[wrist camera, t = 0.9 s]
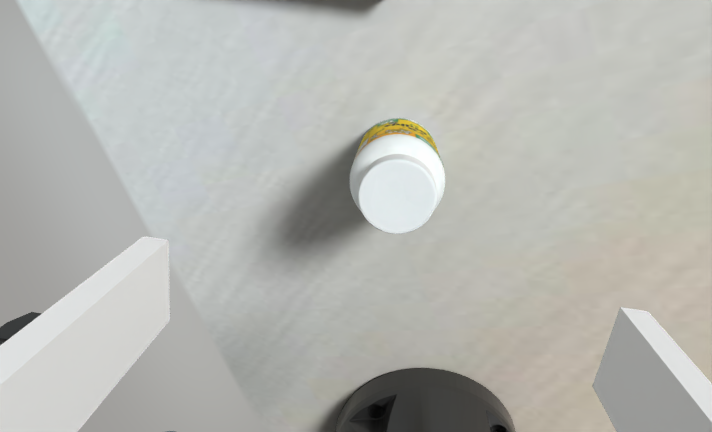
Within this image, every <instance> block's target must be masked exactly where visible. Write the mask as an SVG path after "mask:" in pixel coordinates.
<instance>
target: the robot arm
mask: <svg viewBox="0 0 712 432" xmlns="http://www.w3.org/2000/svg"><path fill="white" fill-rule="evenodd" d="M169 321H170V295H169V240H166V239H159V238H152V237H145V236H143V237H142V238H140V239H139V240H138V241H136V242H135V243H134V244H133V245H131V246H130V247H129V248H127V249H126V250H125V251H123V252H122V253H121V254H119V255H118V256H117V257H116V258H114V259H113V260H112V261H110V262H109V263H108V264H106V265H105V266H104V267H102V268H101V269H100V270H99V271H97V272H96V273H95V274H93V275H92V276H91V277H89V278H88V279H87V280H86V281H84V282H83V283H82V284H80V285H79V286H78V287H76V288H75V289H74V290H72V291H71V292H70V293H68V294H67V295H66V296H64V297H63V298H62V299H61V300H59V301H58V302H57V303H55V304H54V305H53V306H51V307H50V308H49V309H48V310H46V311H45V312H44V313H42V314H41V313H34V312H31V313H28V314H26V315H24V316H22V317H19V318H17V319H14V320H12V321H10V322H7V323H6V324H4V325H3V326H2V327H1V328H0V432H78V430H79V429H80V428H81V427H82V426H83V424H84V423H85V422H86V421H87V420H88V418H89V417H90V416H91V415H92V414H93V412H94V411H95V410H96V409H97V407H98V406H99V405H100V404H101V403H102V401H103V400H104V399H105V398H106V397H107V395H108V394H109V393H110V392H111V391H112V389H113V388H114V387H115V386H116V385H117V383H118V382H119V381H120V380H121V378H122V377H123V376H124V375H125V374H126V372H127V371H128V370H129V369H130V368H131V366H132V365H133V364H134V363H135V362H136V360H137V359H138V358H139V357H140V355H141V354H142V353H143V352H144V351H145V350H146V348H147V347H148V346H149V345H150V343H151V342H152V341H153V340H154V339H155V337H156V336H157V335H158V334H159V333H160V331H161V330H162V329H163V328H164V326H165V325H166V324H167V323H168V322H169ZM593 388H594V390H595V392H596V394H597V396H598V397H599V399H600V401H601V403H602V405H603V407H604V409H605V411H606V412H607V414H608V416H609V418H610V420H611V422H612V424H613V425H614V427H615V429H616V431H617V432H712V383H711V382H710V381H709V380H708V379H707V378H706V377H705V375H704V374H703V373H702V372H701V371H700V370H699V369H698V367H697V366H696V365H695V364H694V363H693V362H692V361H691V360H690V358H689V357H688V356H687V355H686V354H685V353H684V352H683V351H682V349H681V348H680V347H679V346H678V345H677V344H676V343H675V341H674V340H673V339H672V338H671V337H670V336H669V335H668V334H667V332H666V331H665V330H664V329H663V328H662V327H661V326H660V324H659V323H658V322H657V321H656V320H655V319H654V318H653V317H652V315H651V314H650V313H649V312H648V311H642V310H636V309H629V308H622V307H620V310H619V312H618V315H617V318H616V321H615V324H614V327H613V329H612V332H611V335H610V338H609V341H608V344H607V346H606V349H605V352H604V355H603V358H602V361H601V363H600V366H599V369H598V372H597V375H596V378H595V381H594V383H593ZM167 432H174V431H167ZM335 432H516V431H515V428H514V425H513V422H512V419H511V417H510V415H509V413H508V411H507V410H506V408H505V407H504V405H503V404H502V403H501V402H500V400H499V399H498V398H497V397H496V396H495V395H494V394H493V393H492V392H490V391H489V390H488V389H486V388H485V387H484V386H482V385H481V384H479V383H477V382H475V381H474V380H472V379H470V378H467V377H465V376H462V375H460V374H457V373H453V372H449V371H445V370H439V369H430V368H414V369H405V370H400V371H395V372H391V373H388V374H385V375H383V376H380V377H378V378H376V379H374V380H372V381H370V382H369V383H367V384H365V385H364V386H363V387H361V388H360V389H359V390H358V391H356V392H355V393H354V394H353V395H352V396H351V398H350V399H349V400H348V401H347V403H346V404H345V406H344V407H343V409H342V411H341V413H340V415H339V418H338V421H337V425H336V431H335Z"/></svg>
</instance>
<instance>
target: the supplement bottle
mask: <svg viewBox="0 0 712 432" xmlns="http://www.w3.org/2000/svg"><path fill="white" fill-rule="evenodd" d="M444 189H445V172H444V167H443V164H442V161H441V159H440V156H439V153H438V150H437V147H436V145H435V142H434V140H433V138H432V136H431V135H430V133H429V132H428V131H427V130H426V129H425V128H424V127H423V126H422V125H420V124H419V123H417V122H415V121H413V120H410V119H406V118H393V119H388V120H385V121H382V122H379V123H377V124H376V125H374V126H373V127H372V128H370V129H369V130H368V131H367V133H366V134H365V135H364V137H363V139H362V141H361V143H360V145H359V148H358V151H357V154H356V156H355V159H354V162H353V165H352V168H351V172H350V191H351V194H352V197H353V200H354V202H355V204H356V205H357V207H358V208H359V210H360V211H361V212H362V214H363V216H364V217H365V218H366V220H367V221H368V222H369V223H370V224H371V225H373V226H374V227H375V228H377V229H379V230H381V231H384V232H387V233H392V234H403V233H408V232H411V231H413V230H416V229H418V228H419V227H421V226H422V225H423V224H424V223H425V222H426V221H427V220H428V219H429V218H430V216H431V215H432V213H433V211H434V210H435V209H436V207H437V206H438V204H439V203H440V201H441V199H442V196H443V193H444Z"/></svg>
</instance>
